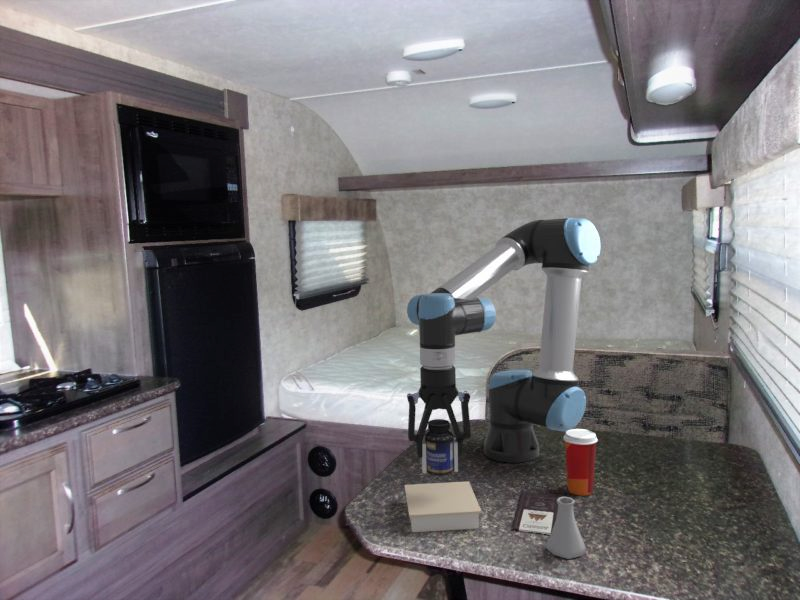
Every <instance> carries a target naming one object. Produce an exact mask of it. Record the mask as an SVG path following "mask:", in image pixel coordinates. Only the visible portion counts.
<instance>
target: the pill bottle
mask: <svg viewBox="0 0 800 600" xmlns="http://www.w3.org/2000/svg"><path fill="white" fill-rule="evenodd" d="M427 429H428V431H426V432H425V435H424V440H425V442H426V466H427V473H426V474H429V475H430V476H433V477H434V476H437V477H445V476H448V475H451V474H452V473H454V452H453V439H454V435H453V433H452V432H451V431H450V429H451V422H450V420H447V419H443V418H435V419H431V420H429V422H428V425H427Z"/></svg>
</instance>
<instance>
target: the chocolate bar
mask: <svg viewBox="0 0 800 600" xmlns="http://www.w3.org/2000/svg"><path fill="white" fill-rule="evenodd" d="M559 497H563V495H560V494H559V495H558V494H550V493H549V494H547V493H540V492H530V491H521V495H520V499H519V503H518V506H517V511H516V514H515V517H514V521H513V525H512V530H515V531H514V532H520V531H524V532H523V533H528V532H533V533H532V534H536V533H541V534H540V535H544V534H547V535H546V536H550V535H551V532H552V530H553V527H554V524H555V522H556V519H557V514H558V503H557V499H558V498H559Z"/></svg>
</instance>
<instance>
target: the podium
mask: <svg viewBox="0 0 800 600" xmlns="http://www.w3.org/2000/svg"><path fill="white" fill-rule="evenodd" d="M404 490H405V491H404V492H405V499H406V505H407V511H408V517H409V521H410V528H411V533H425V532H427V533H428V532H439V531H440V532H441V531H458V530H473V529H474V530H477V529H480V514H482V509H481V507H480V504H479V502H478V500H477V497H476V495H475V493H474V490H473V488H472V485H471V483H470V481H453V482H452V481H451V482H436V483H434V482H433V483H417V484H416V483H415V484H404Z"/></svg>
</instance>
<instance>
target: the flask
mask: <svg viewBox="0 0 800 600" xmlns="http://www.w3.org/2000/svg"><path fill="white" fill-rule="evenodd" d="M557 503H558V514H557V519H556V522H555V524H554V527H553V530H552V532H551V535H549V538H548V540H547V542H546V545H545V549H546V550H548V551H549V552H550V553H551V554H552V555H554V556H557V557H560V558H564V559H567V560H571V559H574V558H578V557H582V556H583V555H584V553H585V552H586V550H587V547H586V545H585V543H584V540H583V537H582V535H581V532H580V530H579V527H578V524H577V522H576V518H575V513H574V504H575V503H576V501H575V500H574V499H573V498H572V497H568V496H562V497H559V498H558V499H557Z"/></svg>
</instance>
